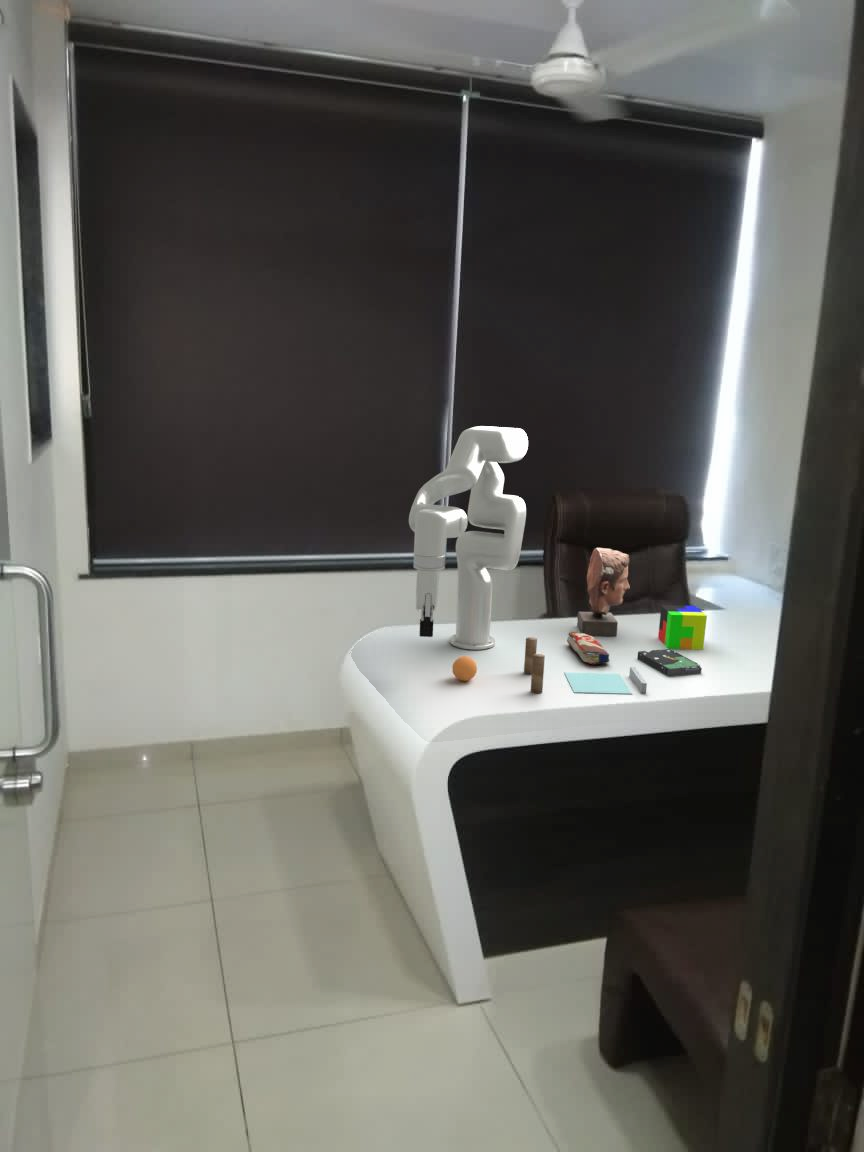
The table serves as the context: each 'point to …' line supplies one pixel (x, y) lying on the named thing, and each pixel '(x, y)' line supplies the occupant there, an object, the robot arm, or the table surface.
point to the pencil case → (588, 648)
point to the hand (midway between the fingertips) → (426, 635)
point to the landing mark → (597, 683)
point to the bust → (604, 591)
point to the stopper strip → (638, 680)
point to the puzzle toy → (682, 627)
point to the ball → (464, 668)
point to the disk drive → (669, 662)
